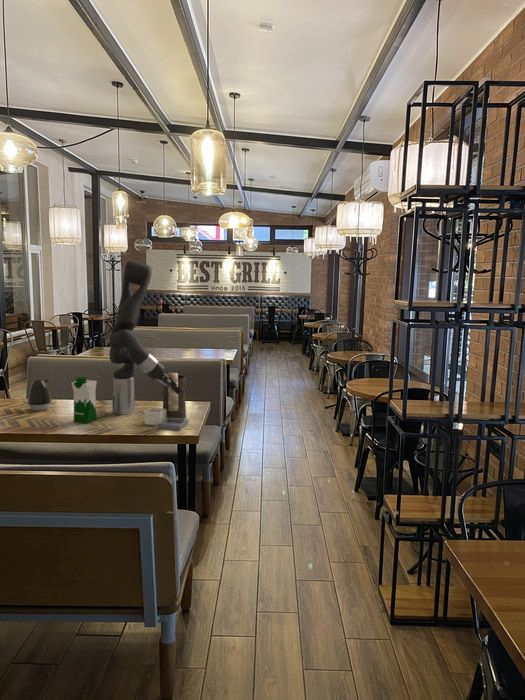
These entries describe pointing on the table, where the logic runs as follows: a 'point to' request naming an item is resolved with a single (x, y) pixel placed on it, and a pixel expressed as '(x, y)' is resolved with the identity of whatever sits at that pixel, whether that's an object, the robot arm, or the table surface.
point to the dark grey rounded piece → (39, 395)
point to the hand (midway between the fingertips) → (177, 391)
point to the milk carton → (84, 400)
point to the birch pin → (173, 393)
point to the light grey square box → (154, 416)
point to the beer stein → (181, 400)
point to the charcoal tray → (173, 424)
